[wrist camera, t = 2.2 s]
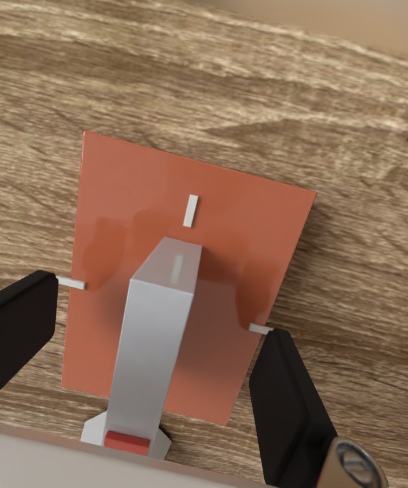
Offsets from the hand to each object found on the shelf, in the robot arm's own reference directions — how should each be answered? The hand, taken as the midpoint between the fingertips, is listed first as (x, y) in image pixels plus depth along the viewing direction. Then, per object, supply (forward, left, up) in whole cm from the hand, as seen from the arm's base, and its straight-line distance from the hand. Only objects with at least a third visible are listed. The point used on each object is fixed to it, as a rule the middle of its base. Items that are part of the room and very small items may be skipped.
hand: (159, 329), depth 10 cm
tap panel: (0, 0, -5) cm, 5 cm away
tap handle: (0, 0, -2) cm, 2 cm away
